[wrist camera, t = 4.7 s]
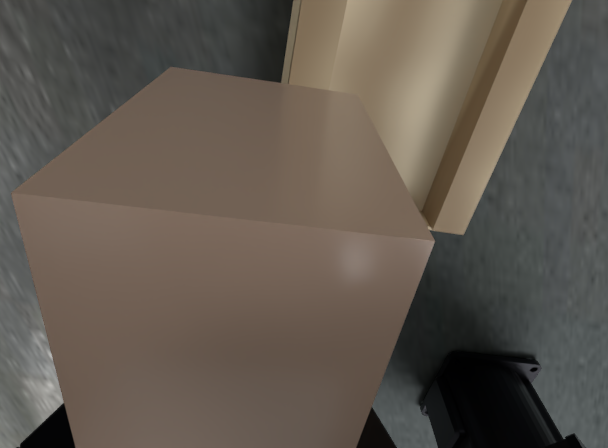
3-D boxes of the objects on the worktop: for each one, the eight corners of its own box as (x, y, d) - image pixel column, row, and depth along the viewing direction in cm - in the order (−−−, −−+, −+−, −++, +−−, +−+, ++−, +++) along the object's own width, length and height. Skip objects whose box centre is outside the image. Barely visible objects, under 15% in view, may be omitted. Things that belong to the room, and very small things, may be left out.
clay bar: (357, 94, 8) (435, 240, 4) (282, 445, 14) (277, 652, 10) (170, 66, 7) (11, 192, 3) (178, 440, 14) (127, 650, 9)
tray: (631, -228, 13) (707, -273, 11) (441, 222, 22) (460, 253, 19) (340, -316, 12) (352, -387, 9) (264, 196, 21) (260, 225, 18)
